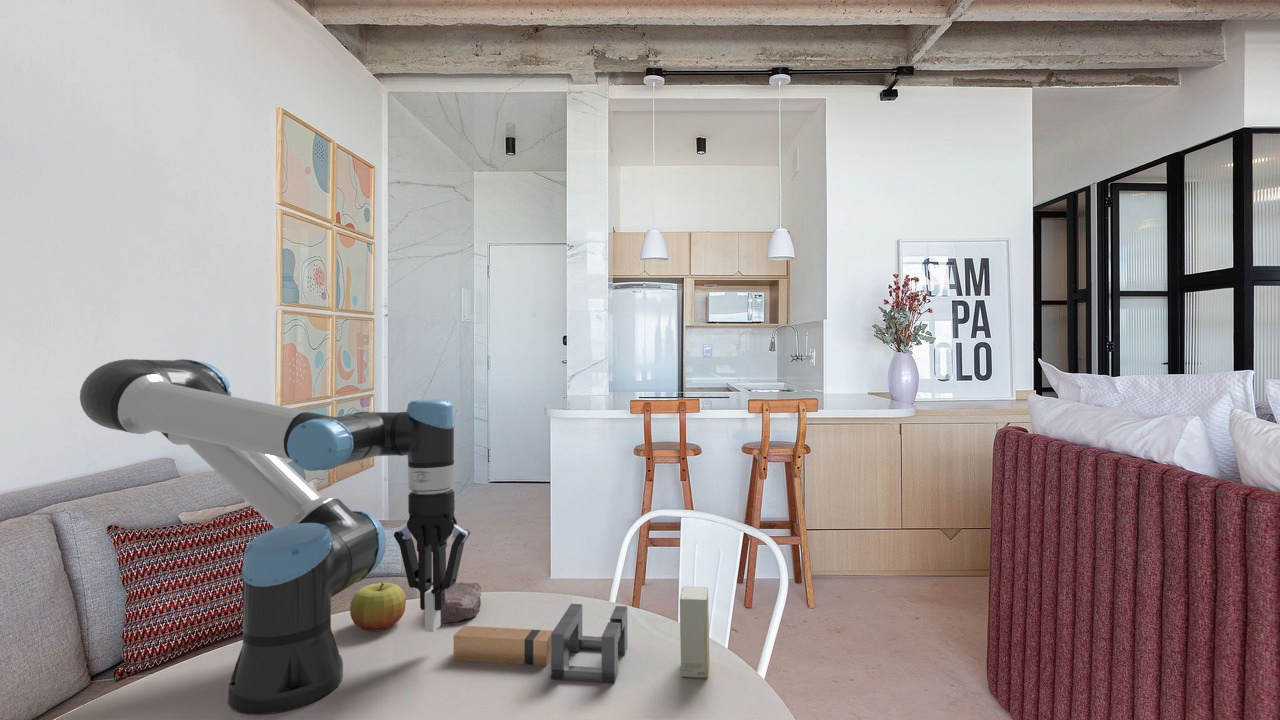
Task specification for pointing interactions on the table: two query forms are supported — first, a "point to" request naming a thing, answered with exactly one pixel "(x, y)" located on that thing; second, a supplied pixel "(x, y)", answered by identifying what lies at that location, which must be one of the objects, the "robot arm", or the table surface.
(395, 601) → the apple
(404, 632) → the table surface
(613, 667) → the grey open frame bracket
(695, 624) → the skincare box
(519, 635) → the block
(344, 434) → the robot arm
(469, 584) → the stone
